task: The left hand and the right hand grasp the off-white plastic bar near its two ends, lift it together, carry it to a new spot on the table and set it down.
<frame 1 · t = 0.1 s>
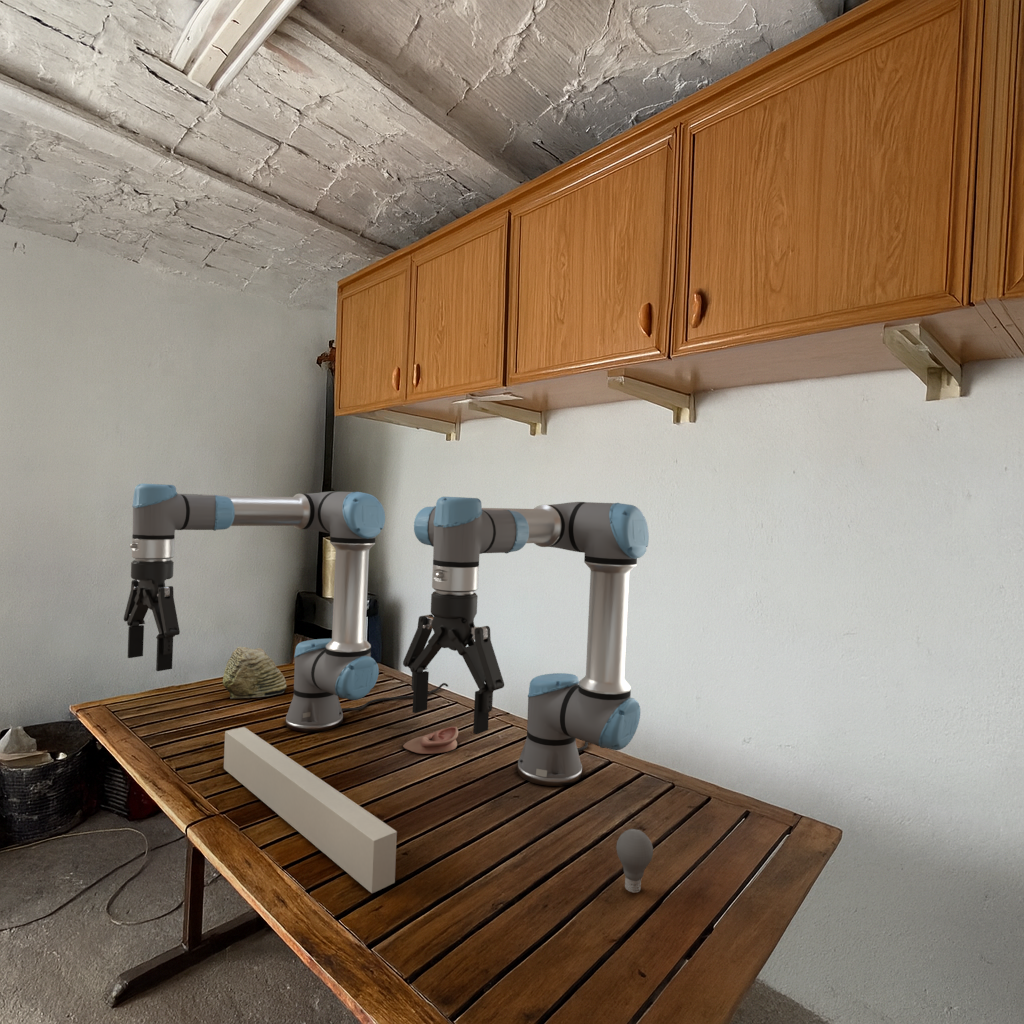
left hand: (149, 663, 129), 28 cm above the table, tool pointing down, fingers open, 13 cm apart
right hand: (449, 721, 103), 28 cm above the table, tool pointing down, fingers open, 13 cm apart
light bulb: (632, 891, 106), on the table
bar: (295, 816, 125), on the table
anatomical model: (430, 746, 163), on the table
fossil: (254, 694, 198), on the table
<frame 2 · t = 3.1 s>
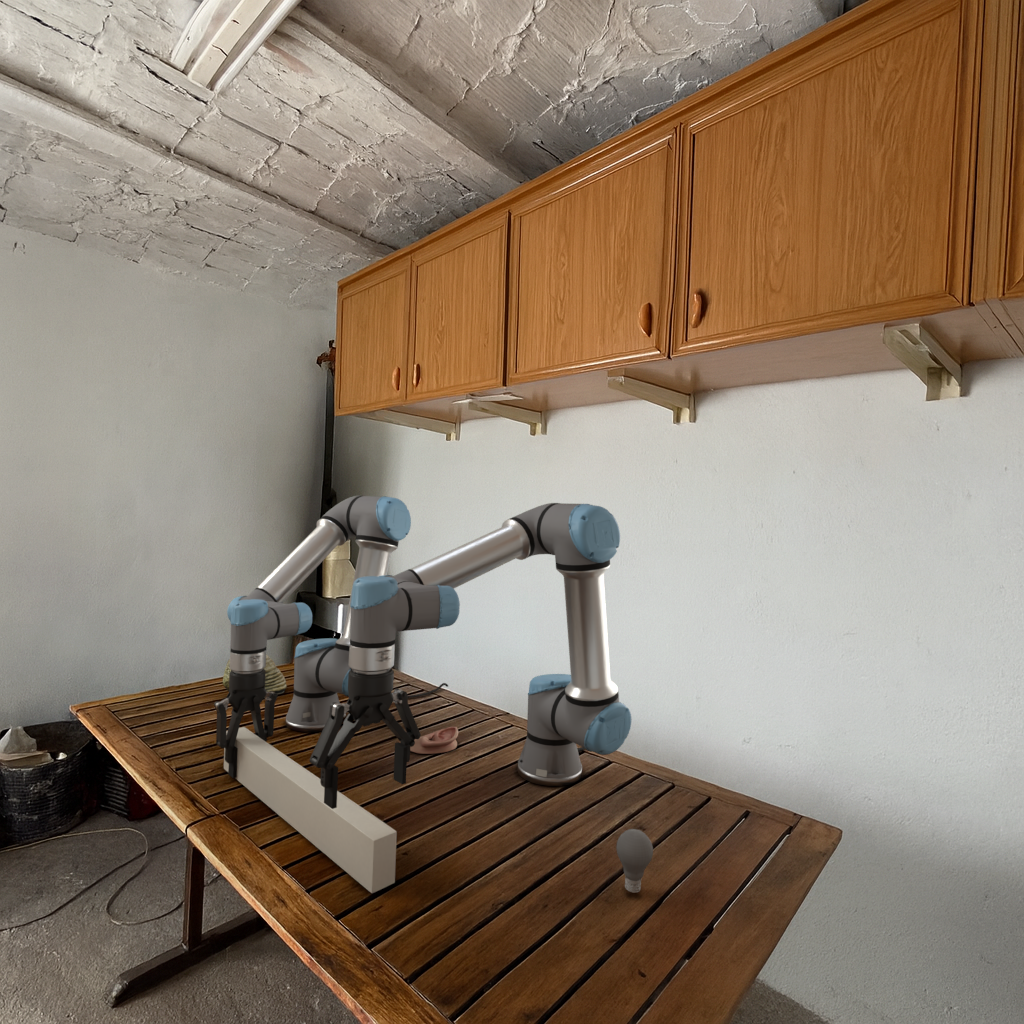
left hand: (244, 772, 142), 1 cm above the table, tool pointing down, fingers closed on bar, 4 cm apart
right hand: (366, 793, 108), 14 cm above the table, tool pointing down, fingers open, 13 cm apart
bar: (295, 816, 125), on the table, touching left hand
everything else where it was.
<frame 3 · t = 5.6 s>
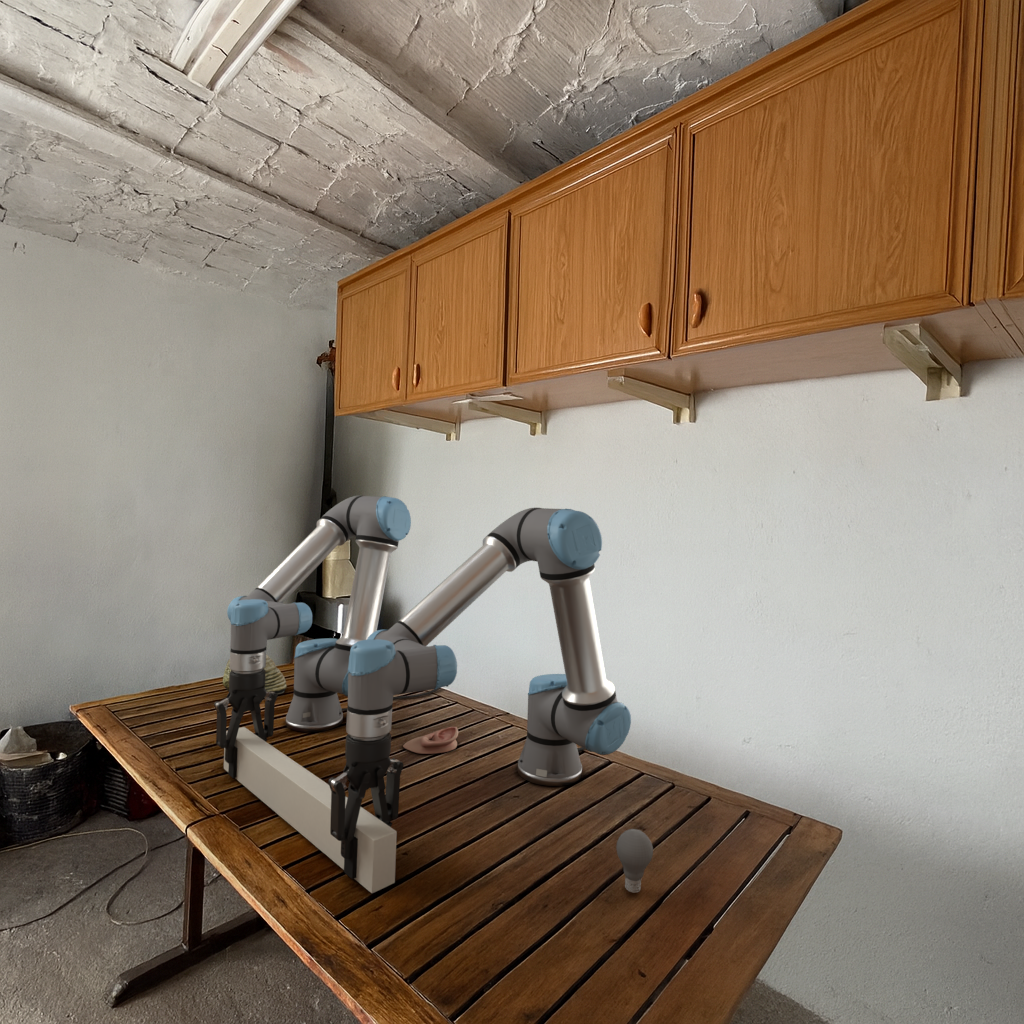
left hand: (244, 772, 142), 1 cm above the table, tool pointing down, fingers closed on bar, 4 cm apart
right hand: (363, 868, 108), 1 cm above the table, tool pointing down, fingers closed on bar, 4 cm apart
bar: (295, 816, 125), on the table, touching left hand, right hand
everything else where it was.
when the left hand's fingers open (2 cm above the table, at t = 12.4 s): bar drops 1 cm, on the table.
when the right hand's fingers open (2 cm above the table, at t = 12.4 s): bar drops 1 cm, on the table.
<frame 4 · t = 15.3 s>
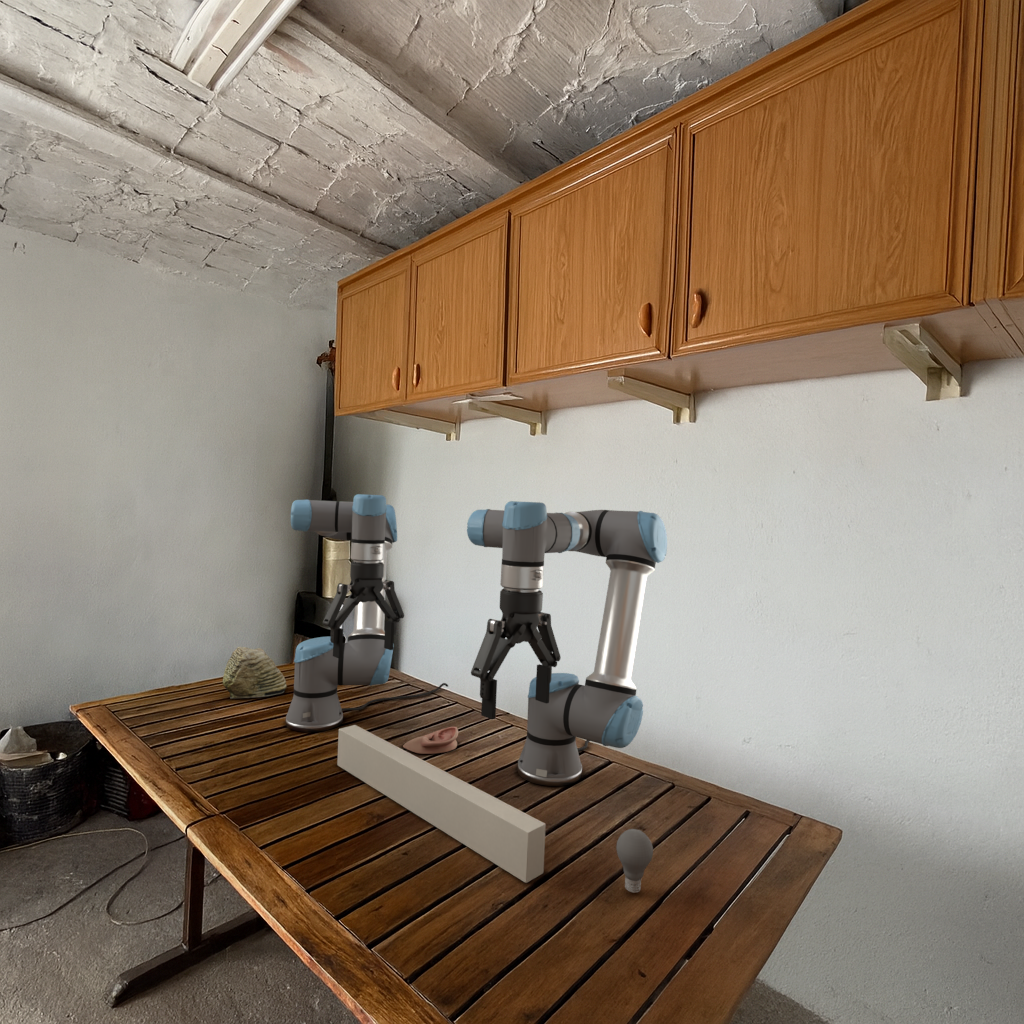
left hand: (363, 653, 146), 28 cm above the table, tool pointing down, fingers open, 13 cm apart
right hand: (516, 709, 112), 28 cm above the table, tool pointing down, fingers open, 13 cm apart
bar: (424, 810, 130), on the table
everything else where it was.
at the end: bar inside the target area (0.2 cm from its centre), on the table; bar tilted 0°; bar never tilted more than 2° during the clip; both hands held the bar at the same time; the left hand is holding nothing; the right hand is holding nothing; bar at rest at the end (0.0 cm/s) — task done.
